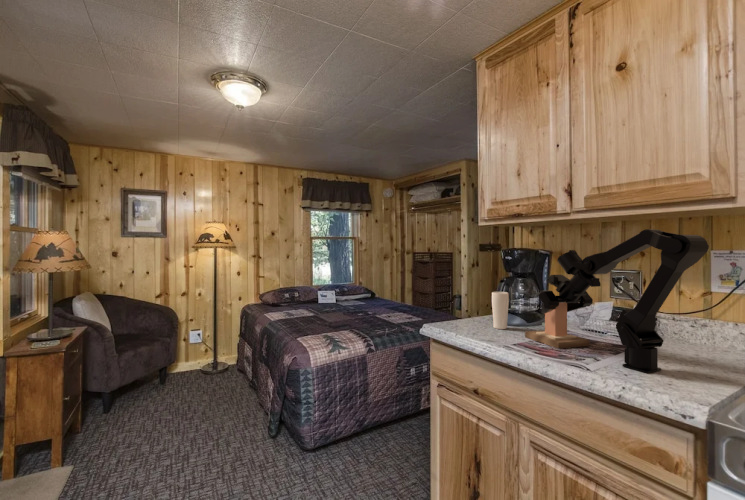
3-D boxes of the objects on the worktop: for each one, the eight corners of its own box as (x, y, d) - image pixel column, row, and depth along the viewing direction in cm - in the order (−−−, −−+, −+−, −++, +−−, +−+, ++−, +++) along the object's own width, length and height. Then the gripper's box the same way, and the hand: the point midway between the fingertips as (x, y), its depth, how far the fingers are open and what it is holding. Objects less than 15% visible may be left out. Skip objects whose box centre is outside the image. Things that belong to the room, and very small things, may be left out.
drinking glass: (488, 327, 148) (488, 292, 148) (501, 326, 150) (501, 291, 150) (498, 330, 141) (498, 293, 142) (512, 329, 143) (512, 293, 144)
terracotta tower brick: (567, 335, 123) (567, 298, 123) (555, 336, 122) (555, 299, 122) (556, 332, 128) (556, 297, 128) (544, 333, 127) (544, 297, 127)
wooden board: (589, 345, 119) (589, 338, 119) (558, 348, 115) (558, 341, 115) (553, 334, 134) (553, 328, 134) (525, 337, 131) (525, 330, 131)
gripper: (585, 266, 124) (561, 294, 134) (542, 267, 119) (520, 295, 129) (605, 291, 116) (578, 318, 127) (560, 293, 111) (535, 321, 122)
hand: (552, 312), depth 126 cm, fingers open, 9 cm apart
